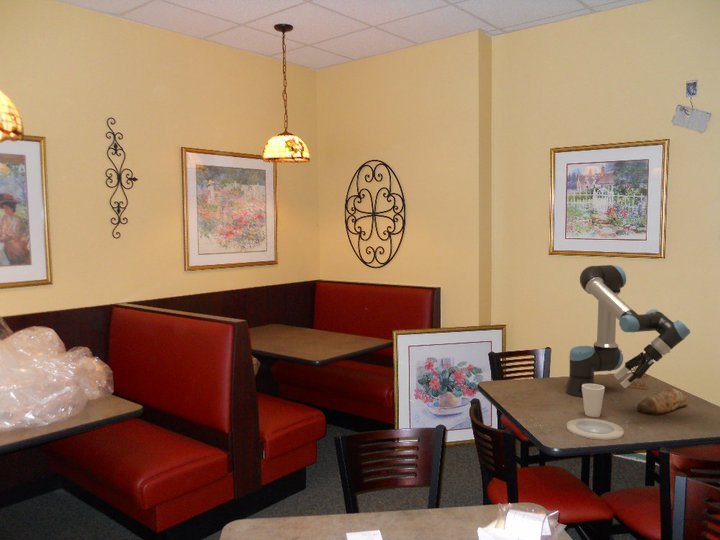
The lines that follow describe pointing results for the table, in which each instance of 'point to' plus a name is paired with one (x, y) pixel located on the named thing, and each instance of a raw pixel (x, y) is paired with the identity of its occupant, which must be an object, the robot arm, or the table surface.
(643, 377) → the gingerbread man figurine
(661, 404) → the bread loaf
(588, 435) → the plate
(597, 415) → the foam cup
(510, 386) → the table surface
